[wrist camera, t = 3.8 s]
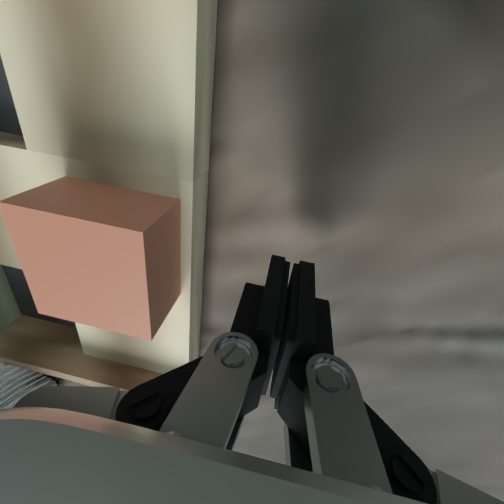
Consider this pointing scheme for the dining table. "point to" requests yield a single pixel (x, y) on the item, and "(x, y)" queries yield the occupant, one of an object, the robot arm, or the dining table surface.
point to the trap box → (106, 158)
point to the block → (98, 253)
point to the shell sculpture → (19, 384)
